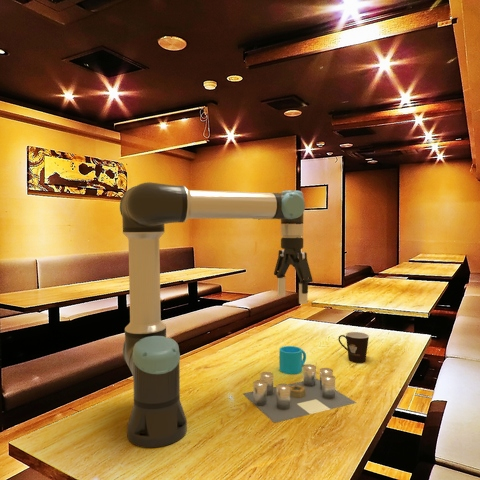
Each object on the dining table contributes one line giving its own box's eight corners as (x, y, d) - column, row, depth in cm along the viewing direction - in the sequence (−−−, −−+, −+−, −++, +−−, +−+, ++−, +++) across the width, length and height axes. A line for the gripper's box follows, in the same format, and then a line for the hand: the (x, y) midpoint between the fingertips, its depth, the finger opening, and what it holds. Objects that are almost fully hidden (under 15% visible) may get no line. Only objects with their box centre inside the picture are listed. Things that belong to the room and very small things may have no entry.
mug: (290, 378, 137) (290, 354, 136) (274, 371, 143) (274, 349, 143) (313, 369, 144) (313, 348, 144) (297, 363, 151) (297, 342, 150)
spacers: (265, 414, 109) (265, 393, 109) (243, 394, 122) (243, 375, 122) (345, 395, 121) (345, 376, 121) (318, 379, 134) (318, 362, 133)
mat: (274, 425, 105) (274, 422, 105) (242, 395, 123) (242, 393, 123) (356, 404, 116) (356, 402, 116) (316, 380, 135) (316, 378, 135)
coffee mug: (373, 362, 152) (373, 336, 151) (355, 365, 148) (355, 339, 148) (354, 353, 162) (354, 329, 162) (336, 355, 159) (336, 331, 159)
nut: (297, 399, 119) (297, 392, 118) (286, 394, 122) (286, 388, 122) (308, 394, 122) (308, 388, 122) (297, 390, 125) (297, 383, 125)
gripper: (323, 238, 122) (323, 305, 123) (282, 235, 145) (282, 292, 146) (303, 238, 119) (303, 307, 120) (264, 236, 142) (264, 294, 143)
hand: (291, 299), depth 133 cm, fingers open, 13 cm apart
